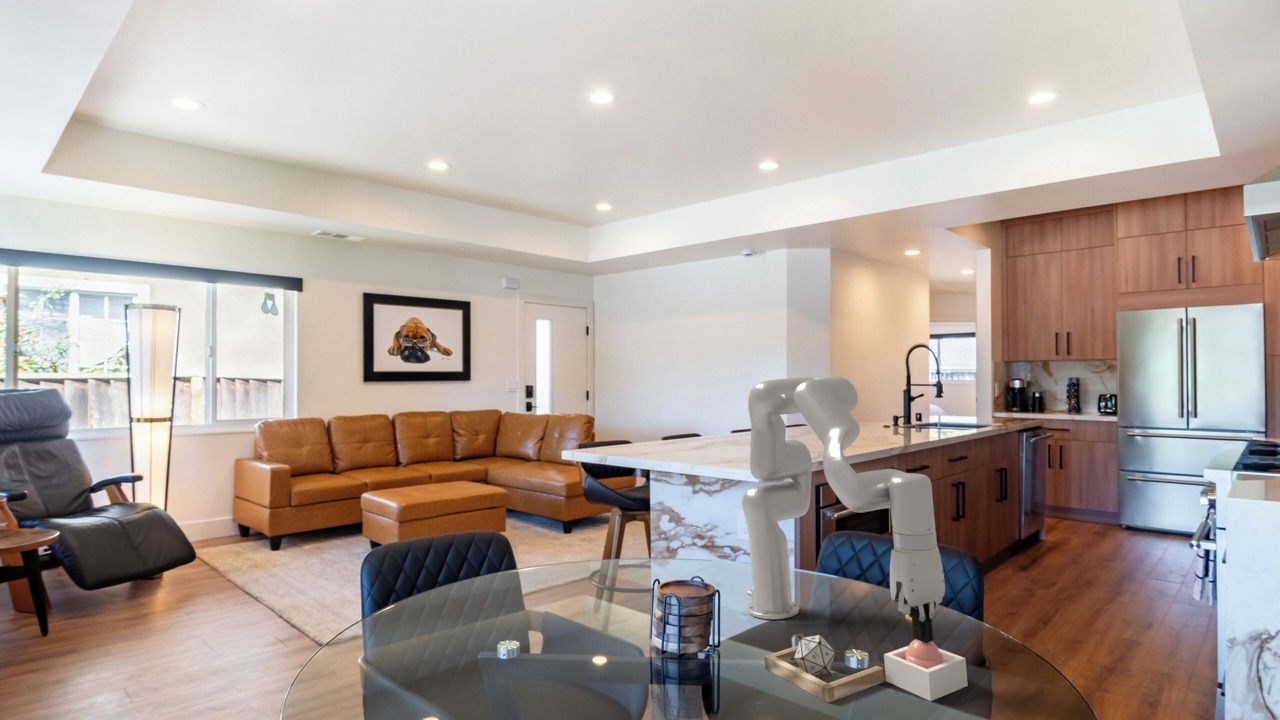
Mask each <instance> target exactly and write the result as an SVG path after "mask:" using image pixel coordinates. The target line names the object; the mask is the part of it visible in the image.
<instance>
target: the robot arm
mask: <svg viewBox="0 0 1280 720" xmlns="http://www.w3.org/2000/svg"><path fill="white" fill-rule="evenodd" d="M858 400H859V396H858V393H857V389H856V387H855V385H854V384H853V383H852V382H851V381H849V380H848V379H846V378H845V377H841V376H835V377H831V376H830V377H823V376H821V377H818V376H817V377H816V376H814V377H813V376H812V377H811V376H809V377H807V376H806V377H794V378H778V379H776V378H775V379H769V380H764V381H761V382H759V383H757V384H755V385H754V386H753V387H752V388H751V389H750V392H749V394H748V400H747V406H748V407H747V408H748V413H749V419H750V426H751V427H750V429H751V430H750V449H749V451H750V453H749V466H750V469H749V470H750V473H751V475H752V477H753V478H754V479H755V480H758V481H761V482H771V483H763V484H758V485H755V486H751V487H750V488H748V489H747V490H746V491H745V492H744V494H743V495H742V498H741V499H742V500H741V503H742V504H741V505H742V510H743V514H744V519H745V521H746V527H747V533H748V534H747V535H748V545H749V556H750V557H749V558H750V568H751V569H750V570H751V571H750V572H751V582H752V583H751V584H752V586H751V589H749V590H747V592H746V594H747V596H749V597H750V598H751V603H749V604H748V605H747V612H748V613H749V614H750V615H751V616H753V617H756V618H759V619H765V620H784V619H789V618H793V617H795V616H796V615H797V614H799V612H800V607H799V604H798V603H796V602H795V601H793V594H792V581H791V579H792V578H791V568H790V566H791V565H790V555H789V553H790V552H789V543H788V539H787V535H786V534H785V532H784V530H783V529H782V528H781V527H780V524H779V522H782V521H786V520H793V519H796V518H797V519H798V518H800V517H803V516H805V515H806V514H807V512H808V510H809V508H810V503H811V495H812V493H811V492H812V491H811V490H812V475H813V474H812V473H813V460H812V455H811V453H810V452H811V451H810V449H809V448H808V446H807V445H806V444H805V443H804V442H803V441H801V440H799V439H787V440H786V433H787V428H786V427H787V426H786V424H785V422H784V419H783V418H782V415H791V414H792V415H795V414H801V415H802V416H803V419H805V421H806V422H807V424H809V426H810V428H811V430H812V431H813V432H814V434H815V435H816V436H817V437H818V439H819V441H820V442H821V443H822V445H823V446H824V447H823V453H822V467H823V468H822V469H823V473H824V477H825V479H826V482H827V484H828V485H829V487H830V488H831V489H832V491H833V493H834V494H835V495H836V497H837V498H838V500H839V501H840V502H841V504H843V505H844V507H846V508H847V509H848V510H850V511H852V512H854V513H866V512H873V511H876V510H884V509H890V513H891V514H890V515H891V526H892V537H893V549H891V552H890V562H889V590H890V591H889V592H890V598H891V601H893V602H894V603H898V604H897V612H898V613H900V614H904V615H908V617H909V618H911V626H912V636H913V638H914V640H915V639H917V640H920V641H923V642H925V643H928V642H929V641H932V642H933V641H934V631H933V619H934V616H935V609H936V606H938V605H939V604H940V603H942V602H943V598H944V596H945V594H946V583H945V574H944V567H943V563H942V557H941V553H940V549H939V547H938V542H937V531H936V520H935V510H934V500H933V488H932V487H933V486H932V481H931V478H930V477H928V476H927V475H926V474H921V473H909V472H908V473H907V472H904V471H902V470H899V469H894V468H885V469H884V468H883V469H877V470H868V471H862V472H856V471H855V470H854V469H853V468H852V466H851V465H850V463H849V461H848V460H847V458H846V457H845V454H844V451H845V450H847V448H849V447H850V446H852V444H853V443H855V442H856V440H857V439H858V437H859V435H860V431H861V428H860V425H859V423H858V422H857V420H856V419H855V418H854V416H853V415H852V414H851V413H850V412H852V411H854V409H855V408H856V406H857V405H858ZM779 480H783V481H780V482H779ZM773 481H777V482H773Z"/></svg>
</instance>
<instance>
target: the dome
mask: <svg viewBox="0 0 1280 720" xmlns="http://www.w3.org/2000/svg"><path fill="white" fill-rule="evenodd" d="M908 646H909V647H908V650H907V651H906V652H905V653H906V661H908V662H911V663H913V664H916V665H918V666H921V667H923V668H926V669H929V668H932V667H934V666H937V665H940V664H942V663H943V656H942V654H941V653H940V652H939V649H940V648H939V647H938V646H937V645H936V644H935V643H934V642H933V641H929V642H928V643H925V642H923V641H920V640H917V639H915V638H914V639H913V640H911V642H909V645H908ZM938 648H939V649H938Z"/></svg>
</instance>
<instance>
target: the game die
mask: <svg viewBox="0 0 1280 720" xmlns="http://www.w3.org/2000/svg"><path fill="white" fill-rule="evenodd" d="M818 633H819V634H815V635H809V636H804V637H801V635H800V634H796V636H797V638H798V643H797V645H796V646H797V649H796V652H795V656H794V658H793V657H792V658H790V660H795V661H796V664H797V665H798V666H799V667H800V668H801V670H802V671H804V672H806V673H808V674H810V675H812V676H814V677H817V676H824V675H828V676H829V677H831V678H832V677H833V674H832V673H831V669H832V666H833V663H834V661H835V657H836V654H837V655H838V654H840V653H841V651H839V650H836V651H835V650H834V648H833V647H832V646H831V645H830V644H829V643H828V642H827V640H826V639H825V638H824V637H823V636H822V635H823V631H822V630H820V631H819V632H818Z"/></svg>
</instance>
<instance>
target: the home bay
mask: <svg viewBox="0 0 1280 720" xmlns="http://www.w3.org/2000/svg"><path fill="white" fill-rule="evenodd" d="M797 646H798V645H796V646H793V647H790V648H786V649H783V650H780V651H777V652H773V653H769V654H767V655H765V656H764V655H763V656H764V669H765V670H767V671H769V672H771V673H772V674H774V675H776V676H778V677H780V678H782V679H783V680H785V681H787V682H790V683H791V684H793V685H795V686H796V687H798V688H800V689H802V690H804V691H806V692H808V693H810V694H811V695H813V696H815V697H816V698H819V699H820V700H823V701H824V702H826V703H828V704H830V703H832V702H835V701H837V700H839V699H842V698H845V697H847V696H850V695H853V694H856V693H858V692H859V693H860V692H861V691H864V690H866V689H869V688H871V687H874V686H876V685H880V684H883V683H884V682H885V678H884V677H885V676H884V668H883V667H881V666H878V665H875V666H872V667H870V668H867V669H864V670H861V671H859V672H856V673H852V674H850V675H848V676H845V677H842V678H839V679H837V680H834V681H831V682H829V683H828V682H826V681H824V680H821V679H820V678H819V677H817V676H812V675H810V674H808V673H806V672H804V671H803V670H802V669H800V668H798V667H796V666H794V665H792V664H795V663H796V664H797V662H796V661H795V660H790V658H792V657H793V658H794V656H795V652H796V649H797Z"/></svg>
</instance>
